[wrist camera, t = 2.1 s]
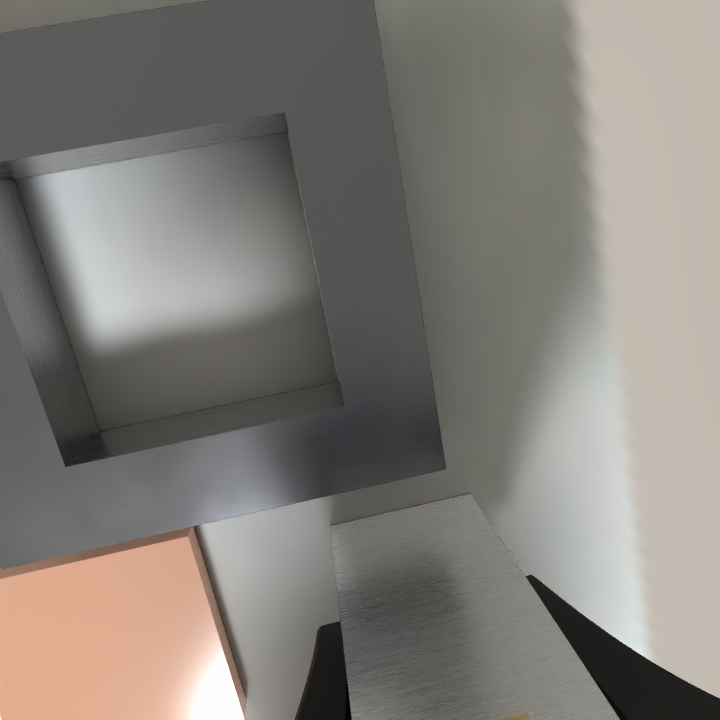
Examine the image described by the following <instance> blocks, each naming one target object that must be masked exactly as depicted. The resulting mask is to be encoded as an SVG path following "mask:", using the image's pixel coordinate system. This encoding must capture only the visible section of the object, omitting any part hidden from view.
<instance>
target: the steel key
mask: <svg viewBox="0 0 720 720" xmlns="http://www.w3.org/2000/svg"><path fill="white" fill-rule="evenodd" d="M330 531H331V540H332V549H333V558H334V567H335V575H336V584H337V593H338V602H339V611H340V620H341V628H342V637H343V646H344V655H345V664H346V673H347V681H348V690H349V699H350V708H351V717H352V720H620V719H619V717H618V716H617V714H616V713H615V711H614V710H613V708H612V707H611V705H610V704H609V702H608V701H607V699H606V698H605V696H604V695H603V693H602V692H601V690H600V689H599V687H598V686H597V684H596V683H595V681H594V680H593V678H592V677H591V675H590V674H589V672H588V671H587V669H586V667H585V666H584V664H583V663H582V661H581V660H580V658H579V657H578V655H577V654H576V652H575V651H574V649H573V648H572V646H571V645H570V643H569V642H568V640H567V639H566V637H565V636H564V634H563V633H562V631H561V630H560V628H559V627H558V625H557V624H556V622H555V621H554V619H553V618H552V616H551V614H550V613H549V611H548V610H547V608H546V607H545V605H544V604H543V602H542V601H541V599H540V598H539V596H538V595H537V593H536V592H535V590H534V589H533V587H532V586H531V584H530V583H529V581H528V580H527V578H526V577H525V575H524V574H523V572H522V571H521V569H520V568H519V566H518V564H517V563H516V561H515V560H514V558H513V557H512V555H511V554H510V552H509V551H508V549H507V548H506V546H505V545H504V543H503V542H502V540H501V539H500V537H499V536H498V534H497V533H496V531H495V530H494V528H493V527H492V525H491V524H490V522H489V521H488V519H487V518H486V516H485V515H484V513H483V511H482V510H481V508H480V507H479V505H478V504H477V502H476V501H475V499H474V498H473V496H472V495H471V493H470V494H466V495H461V496H457V497H453V498H448V499H444V500H440V501H435V502H431V503H427V504H422V505H418V506H414V507H409V508H405V509H401V510H396V511H392V512H388V513H383V514H379V515H375V516H370V517H366V518H362V519H357V520H353V521H349V522H344V523H340V524H336V525H331V526H330Z"/></svg>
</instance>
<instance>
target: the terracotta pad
mask: <svg viewBox="0 0 720 720" xmlns="http://www.w3.org/2000/svg"><path fill="white" fill-rule="evenodd" d="M245 709H246V698H245V695H244V692H243V688H242V685H241V682H240V679H239V675H238V672H237V669H236V665H235V662H234V659H233V655H232V652H231V649H230V646H229V642H228V639H227V636H226V632H225V629H224V626H223V623H222V619H221V616H220V613H219V609H218V606H217V603H216V599H215V596H214V593H213V590H212V586H211V583H210V580H209V576H208V573H207V570H206V566H205V563H204V560H203V557H202V553H201V550H200V547H199V543H198V540H197V537H196V534H195V530H194V527H188V528H184V529H179V530H175V531H171V532H166V533H162V534H157V535H153V536H148V537H144V538H140V539H135V540H131V541H126V542H122V543H118V544H113V545H109V546H104V547H100V548H95V549H91V550H87V551H82V552H78V553H73V554H69V555H65V556H60V557H56V558H51V559H47V560H42V561H38V562H34V563H29V564H25V565H20V566H16V567H12V568H7V569H3V570H2V568H1V567H0V716H1V718H2V720H244V719H245Z"/></svg>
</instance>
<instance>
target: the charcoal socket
mask: <svg viewBox="0 0 720 720" xmlns="http://www.w3.org/2000/svg"><path fill="white" fill-rule="evenodd" d="M286 131H287V136H288V140H289V145H290V150H291V155H292V160H293V165H294V170H295V175H296V180H297V184H298V189H299V194H300V199H301V204H302V209H303V214H304V219H305V224H306V229H307V233H308V238H309V243H310V248H311V253H312V258H313V263H314V268H315V273H316V277H317V282H318V287H319V292H320V297H321V302H322V307H323V312H324V317H325V321H326V326H327V331H328V336H329V341H330V346H331V351H332V356H333V361H334V365H335V370H336V375H337V380H338V381H337V382H333V383H328V384H323V385H318V386H314V387H309V388H304V389H299V390H295V391H290V392H285V393H281V394H276V395H271V396H266V397H262V398H257V399H252V400H247V401H243V402H238V403H233V404H229V405H224V406H219V407H214V408H210V409H205V410H200V411H196V412H191V413H186V414H181V415H177V416H172V417H167V418H162V419H158V420H153V421H148V422H144V423H139V424H134V425H129V426H125V427H120V428H115V429H110V430H106V431H101V432H100V431H99V428H98V425H97V422H96V419H95V416H94V413H93V410H92V407H91V404H90V401H89V398H88V395H87V392H86V389H85V386H84V383H83V380H82V378H81V375H80V372H79V369H78V366H77V363H76V360H75V357H74V354H73V351H72V348H71V345H70V342H69V339H68V336H67V333H66V330H65V327H64V324H63V321H62V318H61V315H60V313H59V310H58V307H57V304H56V301H55V298H54V295H53V292H52V289H51V286H50V283H49V280H48V277H47V274H46V271H45V268H44V265H43V262H42V259H41V256H40V253H39V250H38V247H37V245H36V242H35V239H34V236H33V233H32V230H31V227H30V224H29V221H28V218H27V215H26V212H25V209H24V206H23V203H22V200H21V197H20V194H19V191H18V188H17V185H16V182H15V179H21V178H27V177H32V176H38V175H43V174H49V173H55V172H60V171H66V170H72V169H77V168H83V167H89V166H94V165H100V164H105V163H111V162H117V161H122V160H128V159H134V158H139V157H145V156H150V155H156V154H162V153H167V152H173V151H179V150H184V149H190V148H196V147H201V146H207V145H212V144H218V143H224V142H229V141H235V140H241V139H246V138H252V137H258V136H263V135H269V134H274V133H280V132H286ZM444 469H446V466H445V459H444V453H443V446H442V440H441V433H440V427H439V420H438V414H437V407H436V401H435V395H434V388H433V382H432V375H431V369H430V362H429V356H428V349H427V343H426V336H425V330H424V323H423V317H422V311H421V304H420V298H419V291H418V285H417V278H416V272H415V265H414V259H413V252H412V246H411V239H410V233H409V226H408V220H407V214H406V207H405V201H404V194H403V188H402V181H401V175H400V168H399V162H398V155H397V149H396V142H395V136H394V129H393V123H392V117H391V110H390V104H389V97H388V91H387V84H386V78H385V71H384V65H383V58H382V52H381V45H380V39H379V33H378V26H377V20H376V13H375V7H374V0H208V1H201V2H195V3H189V4H183V5H176V6H170V7H164V8H157V9H151V10H145V11H138V12H132V13H126V14H119V15H113V16H107V17H101V18H94V19H88V20H82V21H75V22H69V23H63V24H56V25H50V26H44V27H38V28H31V29H25V30H19V31H12V32H6V33H0V566H1V568H2V570H3V569H7V568H12V567H16V566H20V565H25V564H29V563H34V562H38V561H42V560H47V559H51V558H56V557H60V556H65V555H69V554H73V553H78V552H82V551H87V550H91V549H95V548H100V547H104V546H109V545H113V544H118V543H122V542H126V541H131V540H135V539H140V538H144V537H148V536H153V535H157V534H162V533H166V532H171V531H175V530H179V529H184V528H188V527H193V526H197V525H201V524H206V523H210V522H215V521H219V520H223V519H228V518H232V517H237V516H241V515H246V514H250V513H254V512H259V511H263V510H268V509H272V508H276V507H281V506H285V505H290V504H294V503H299V502H303V501H307V500H312V499H316V498H321V497H325V496H329V495H334V494H338V493H343V492H347V491H352V490H356V489H360V488H365V487H369V486H374V485H378V484H382V483H387V482H391V481H396V480H400V479H405V478H409V477H413V476H418V475H422V474H427V473H431V472H435V471H440V470H444Z"/></svg>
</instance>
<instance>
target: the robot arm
mask: <svg viewBox="0 0 720 720" xmlns="http://www.w3.org/2000/svg"><path fill="white" fill-rule="evenodd" d="M525 577H526V578H527V580H528V581H529V583H530V584H531V586H532V587H533V589H534V590H535V592H536V593H537V595H538V596H539V598H540V599H541V601H542V602H543V604H544V605H545V607H546V608H547V610H548V611H549V613H550V614H551V616H552V618H553V619H554V621H555V622H556V624H557V625H558V627H559V628H560V630H561V631H562V633H563V634H564V636H565V637H566V639H567V640H568V642H569V643H570V645H571V646H572V648H573V649H574V651H575V652H576V654H577V655H578V657H579V658H580V660H581V661H582V663H583V664H584V666H585V667H586V669H587V671H588V672H589V674H590V675H591V677H592V678H593V680H594V681H595V683H596V684H597V686H598V687H599V689H600V690H601V692H602V693H603V695H604V696H605V698H606V699H607V701H608V702H609V704H610V705H611V707H612V708H613V710H614V711H615V713H616V714H617V716H618V717H619V719H620V720H720V698H717V697H715V696H713V695H711V694H709V693H707V692H705V691H703V690H701V689H699V688H697V687H695V686H694V685H691V684H690V683H688V682H686V681H684V680H682V679H680V678H679V677H677V676H675V675H674V674H672V673H670V672H668V671H666V670H665V669H663V668H661V667H659V666H658V665H656V664H654V663H653V662H651V661H650V660H648V659H646V658H645V657H643V656H642V655H640V654H639V653H637V652H635V651H634V650H632V649H631V648H629V647H628V646H626V645H625V644H623V643H622V642H620V641H619V640H617V639H616V638H614V637H613V636H612V635H610V634H609V633H607V632H606V631H604V630H603V629H602V628H600V627H599V626H598V625H596V624H595V623H593V622H592V621H591V620H589V619H588V618H586V617H585V616H584V615H582V614H581V613H580V612H578V611H577V610H576V609H575V608H573V607H572V606H571V605H569V604H568V603H567V602H566V601H564V600H563V599H562V598H560V597H559V596H558V595H557V594H555V593H554V592H553V591H552V590H550V589H549V588H548V587H547V586H545V585H544V584H543V583H542V582H540V581H539V580H538V579H537V578H535V577H534V576H532V575H528V576H525ZM295 720H352V717H351V708H350V699H349V690H348V681H347V673H346V664H345V655H344V646H343V637H342V628H341V621H339V622H335V623H331V624H327V625H323V626H321V627H320V628H319V629H318V631H317V637H316V644H315V649H314V654H313V658H312V663H311V667H310V671H309V674H308V678H307V682H306V685H305V688H304V692H303V695H302V698H301V702H300V705H299V708H298V711H297V714H296V717H295Z"/></svg>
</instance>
